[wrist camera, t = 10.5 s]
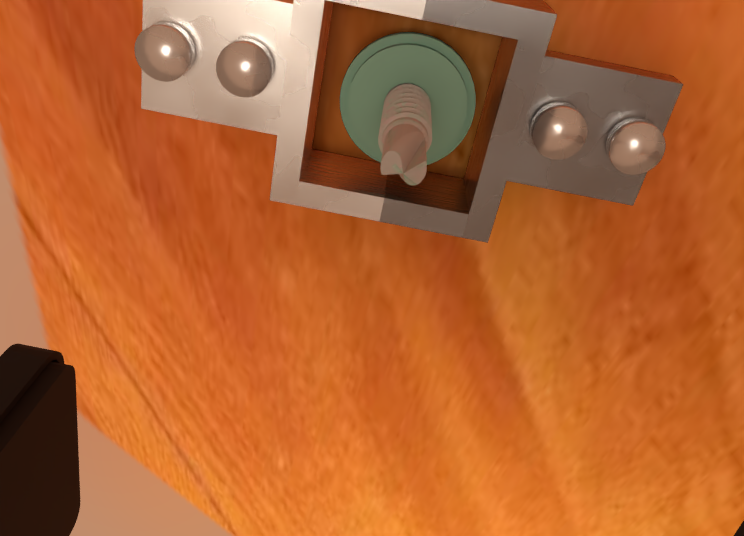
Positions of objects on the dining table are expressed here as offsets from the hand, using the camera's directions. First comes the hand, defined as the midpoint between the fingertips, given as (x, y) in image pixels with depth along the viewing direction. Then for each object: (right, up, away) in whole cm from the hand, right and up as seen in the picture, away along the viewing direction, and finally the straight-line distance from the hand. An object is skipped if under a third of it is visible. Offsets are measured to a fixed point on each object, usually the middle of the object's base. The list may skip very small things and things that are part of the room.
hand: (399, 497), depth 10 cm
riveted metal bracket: (+1, +10, +18) cm, 21 cm away
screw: (+1, +10, +18) cm, 21 cm away
